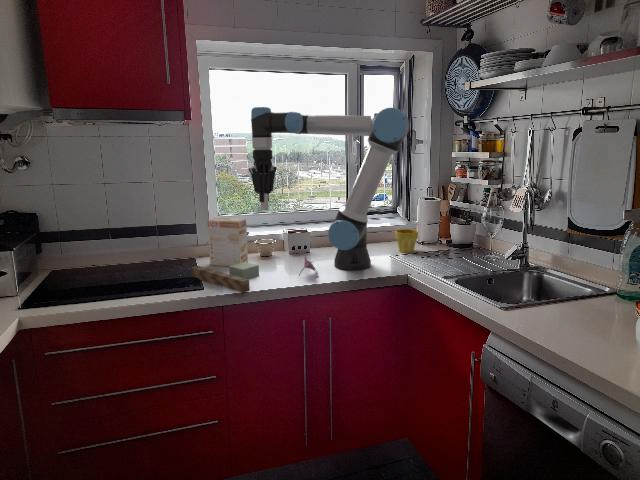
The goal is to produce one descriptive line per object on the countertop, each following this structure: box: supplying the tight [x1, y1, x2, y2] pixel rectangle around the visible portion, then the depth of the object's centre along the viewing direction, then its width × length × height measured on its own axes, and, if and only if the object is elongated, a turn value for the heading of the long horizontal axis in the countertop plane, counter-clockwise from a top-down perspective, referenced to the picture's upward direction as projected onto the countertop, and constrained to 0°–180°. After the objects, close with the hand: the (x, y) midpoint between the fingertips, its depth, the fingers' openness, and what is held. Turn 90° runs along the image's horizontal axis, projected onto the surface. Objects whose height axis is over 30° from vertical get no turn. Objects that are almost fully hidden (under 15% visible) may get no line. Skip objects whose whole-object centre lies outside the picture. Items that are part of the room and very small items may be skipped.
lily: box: [298, 249, 319, 277], centre depth 173 cm, size 12×12×10 cm
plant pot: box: [394, 228, 419, 254], centre depth 210 cm, size 10×10×10 cm
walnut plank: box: [190, 265, 251, 293], centre depth 164 cm, size 30×3×4 cm, turn 50°
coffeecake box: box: [206, 217, 249, 267], centre depth 189 cm, size 15×7×20 cm, turn 69°
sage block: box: [228, 262, 260, 280], centre depth 173 cm, size 8×8×4 cm
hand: (264, 210), depth 177 cm, fingers closed
